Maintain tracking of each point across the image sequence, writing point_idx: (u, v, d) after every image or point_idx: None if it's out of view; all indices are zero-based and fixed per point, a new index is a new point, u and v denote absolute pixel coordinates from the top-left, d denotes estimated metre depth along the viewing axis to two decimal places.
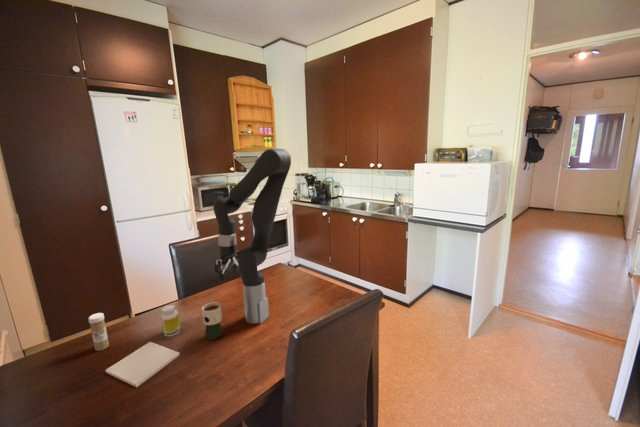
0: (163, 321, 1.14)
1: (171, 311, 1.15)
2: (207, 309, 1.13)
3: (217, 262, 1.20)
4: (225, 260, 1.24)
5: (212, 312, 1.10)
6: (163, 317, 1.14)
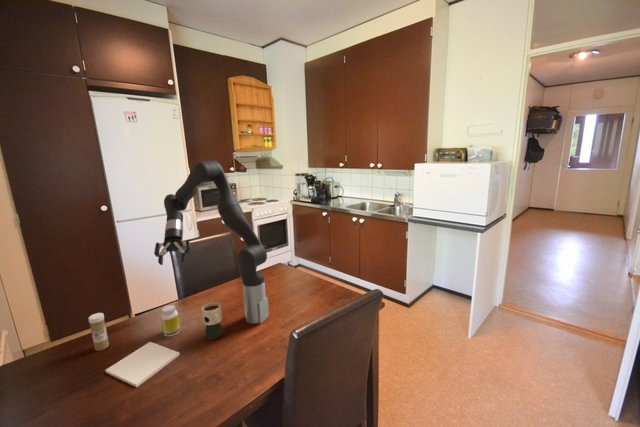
0: (163, 321, 1.14)
1: (171, 311, 1.15)
2: (207, 309, 1.13)
3: None
4: (165, 244, 1.29)
5: (212, 312, 1.10)
6: (163, 317, 1.14)
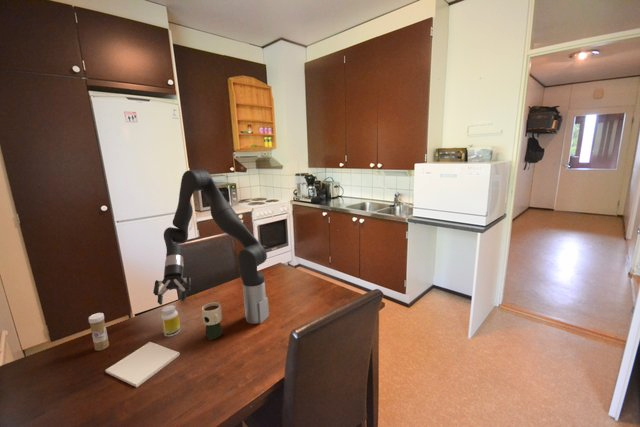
0: (163, 321, 1.14)
1: (171, 311, 1.15)
2: (207, 309, 1.13)
3: None
4: (165, 281, 1.24)
5: (212, 312, 1.10)
6: (163, 317, 1.14)
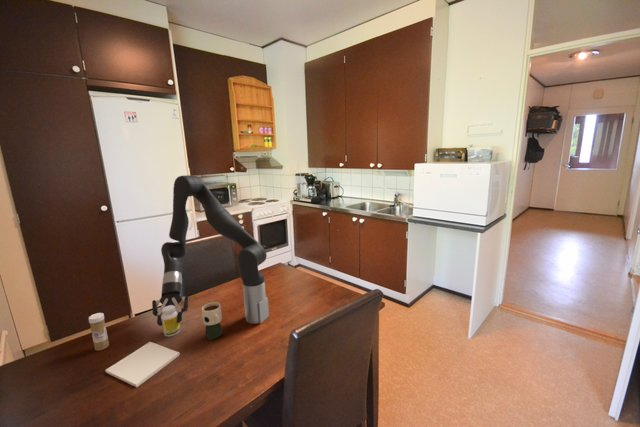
0: (163, 321, 1.14)
1: (171, 311, 1.15)
2: (207, 309, 1.13)
3: None
4: (162, 301, 1.19)
5: (212, 312, 1.10)
6: (163, 317, 1.14)
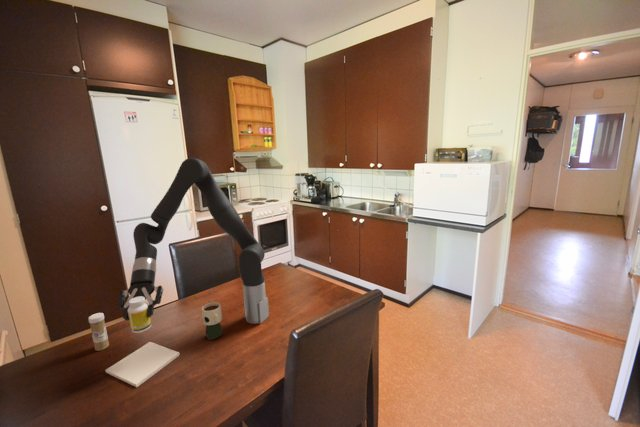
0: (130, 315, 0.96)
1: (139, 303, 0.97)
2: (207, 309, 1.13)
3: None
4: (131, 291, 1.01)
5: (212, 312, 1.10)
6: (130, 310, 0.96)
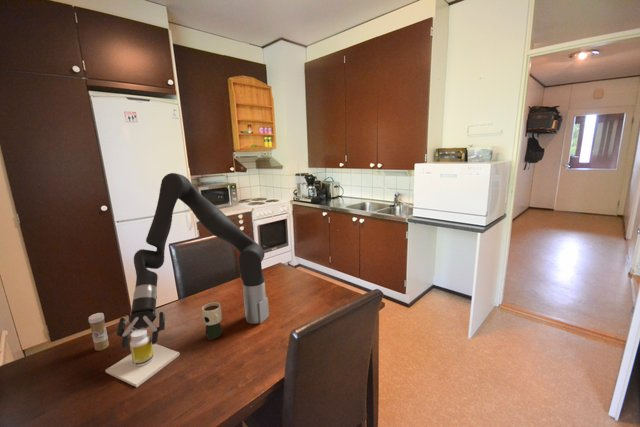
0: (132, 348, 0.97)
1: (141, 336, 0.97)
2: (207, 309, 1.13)
3: None
4: (132, 319, 1.01)
5: (212, 312, 1.10)
6: (132, 344, 0.96)
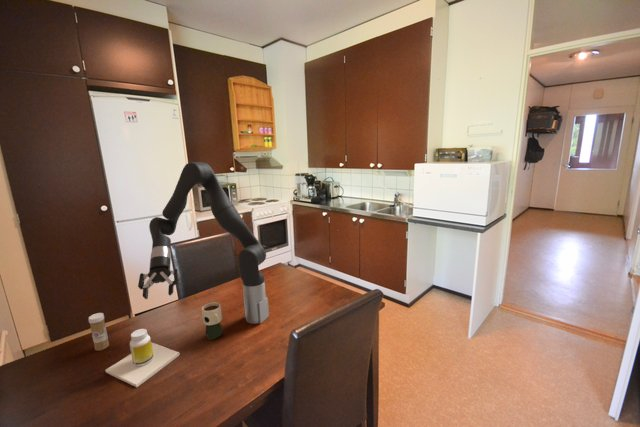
0: (132, 348, 0.97)
1: (141, 336, 0.97)
2: (207, 309, 1.13)
3: None
4: (150, 274, 1.16)
5: (212, 312, 1.10)
6: (132, 344, 0.96)
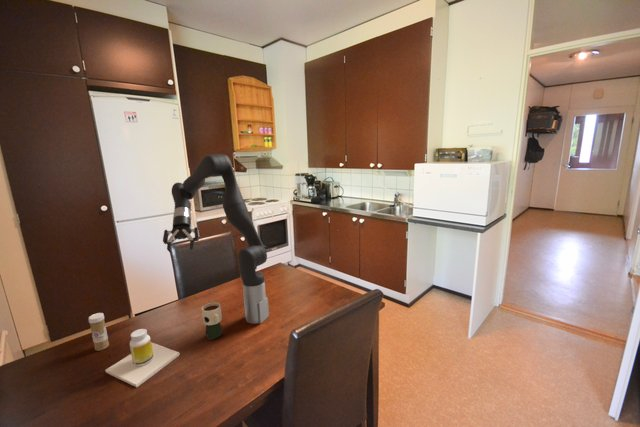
0: (132, 348, 0.97)
1: (141, 336, 0.97)
2: (207, 309, 1.13)
3: None
4: (173, 231, 1.28)
5: (211, 312, 1.10)
6: (132, 344, 0.96)
